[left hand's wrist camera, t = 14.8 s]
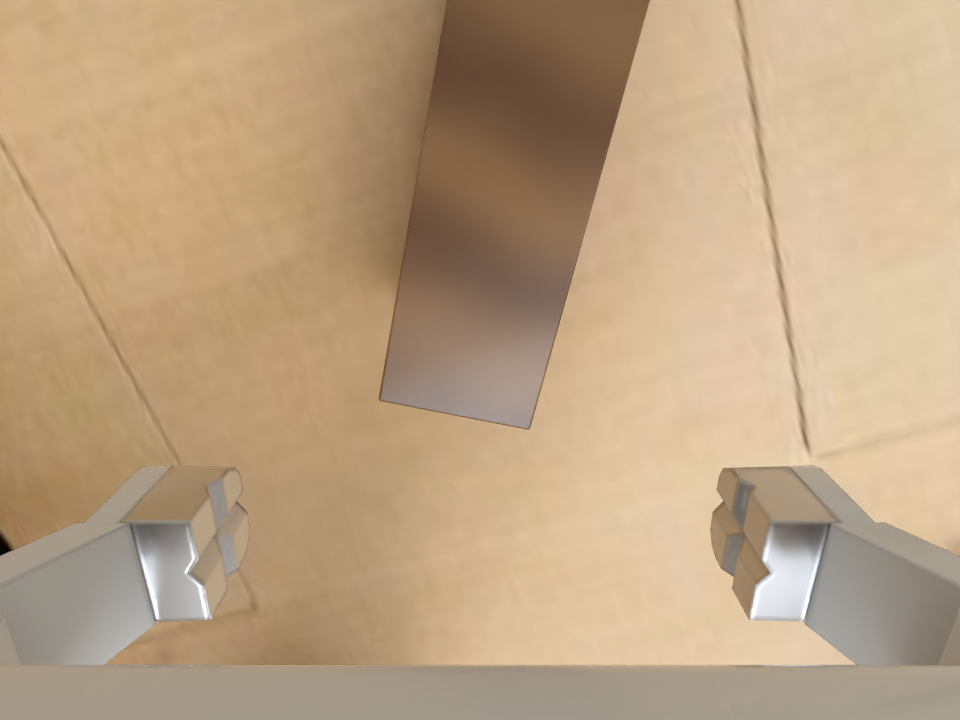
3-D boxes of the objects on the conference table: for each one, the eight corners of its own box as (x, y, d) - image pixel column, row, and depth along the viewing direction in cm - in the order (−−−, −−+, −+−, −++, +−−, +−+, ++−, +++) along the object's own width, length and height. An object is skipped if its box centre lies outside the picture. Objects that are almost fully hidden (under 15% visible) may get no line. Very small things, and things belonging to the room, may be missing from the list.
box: (514, 333, 33) (529, 430, 23) (410, 312, 33) (377, 401, 22) (636, -152, 25) (747, -346, 15) (502, -189, 25) (517, -417, 14)
